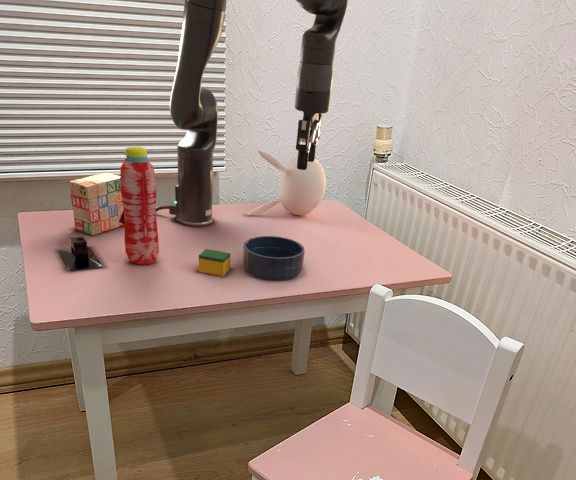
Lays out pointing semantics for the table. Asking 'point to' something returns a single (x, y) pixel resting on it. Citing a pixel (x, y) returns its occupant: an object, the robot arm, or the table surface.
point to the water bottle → (139, 207)
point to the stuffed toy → (296, 186)
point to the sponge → (214, 262)
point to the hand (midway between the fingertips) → (305, 165)
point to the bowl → (273, 258)
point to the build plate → (80, 255)
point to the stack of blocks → (97, 203)
